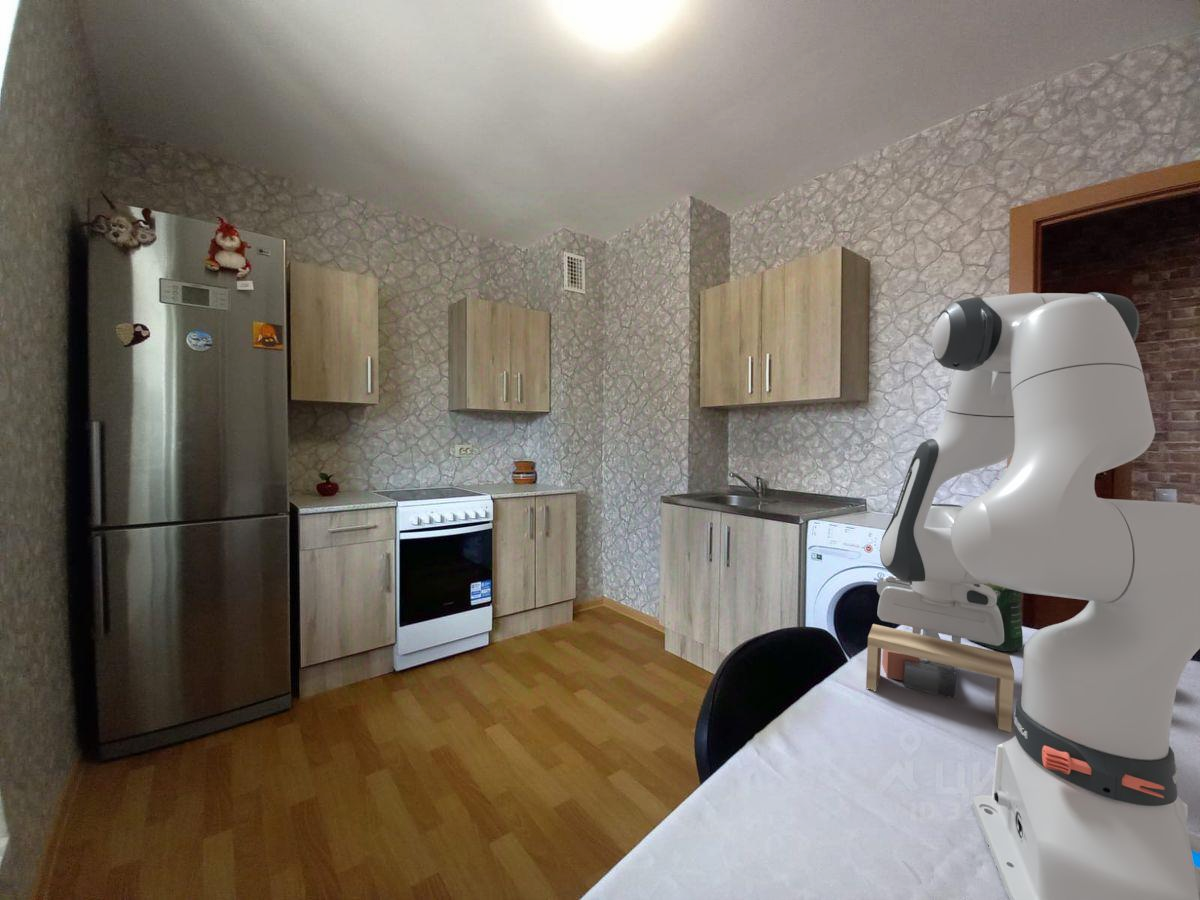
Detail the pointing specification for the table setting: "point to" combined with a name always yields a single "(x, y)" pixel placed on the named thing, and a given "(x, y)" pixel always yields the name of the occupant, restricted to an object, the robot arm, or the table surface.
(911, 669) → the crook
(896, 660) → the block
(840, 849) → the table surface
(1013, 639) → the coffee jar
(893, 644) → the bridge
